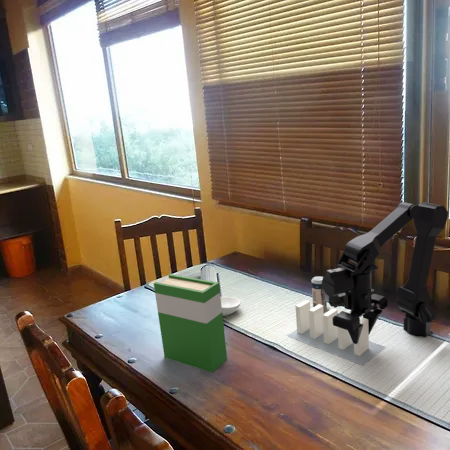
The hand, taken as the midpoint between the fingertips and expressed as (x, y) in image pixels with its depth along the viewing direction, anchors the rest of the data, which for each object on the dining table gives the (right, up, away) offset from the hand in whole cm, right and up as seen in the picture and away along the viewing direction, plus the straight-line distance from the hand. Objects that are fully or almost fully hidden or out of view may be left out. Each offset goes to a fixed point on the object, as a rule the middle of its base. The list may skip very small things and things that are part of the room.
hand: (361, 338), depth 129 cm
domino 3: (-6, -2, +8) cm, 11 cm away
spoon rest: (-42, -1, +32) cm, 53 cm away
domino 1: (-13, -1, +15) cm, 20 cm away
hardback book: (-46, -8, +8) cm, 48 cm away
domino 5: (0, -4, +1) cm, 4 cm away
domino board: (-6, -3, +8) cm, 10 cm away
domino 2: (-10, -2, +12) cm, 15 cm away
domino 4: (-3, -3, +5) cm, 6 cm away
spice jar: (-5, +2, +29) cm, 30 cm away
